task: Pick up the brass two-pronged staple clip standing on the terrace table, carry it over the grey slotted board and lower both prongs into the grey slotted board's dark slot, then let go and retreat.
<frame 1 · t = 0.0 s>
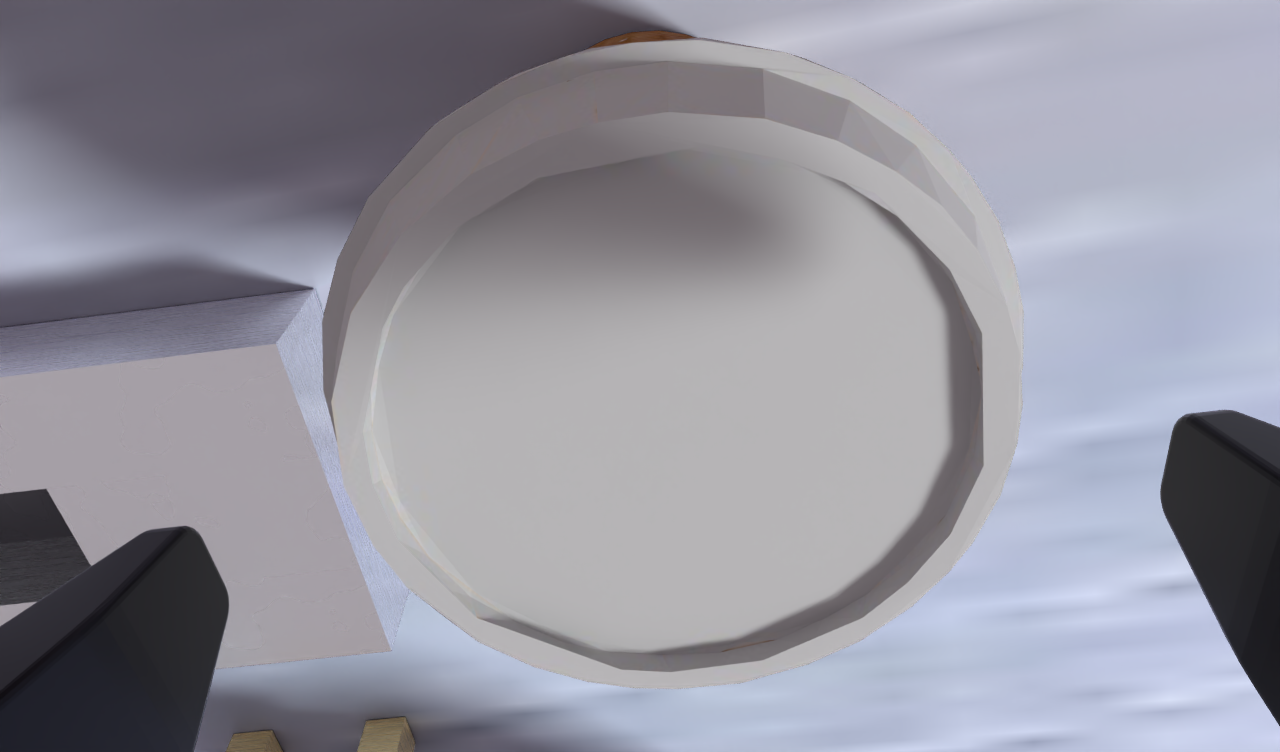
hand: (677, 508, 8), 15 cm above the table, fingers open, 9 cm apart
disposable coffee cup: (652, 165, 22), on the table
clip: (325, 738, 32), on the table
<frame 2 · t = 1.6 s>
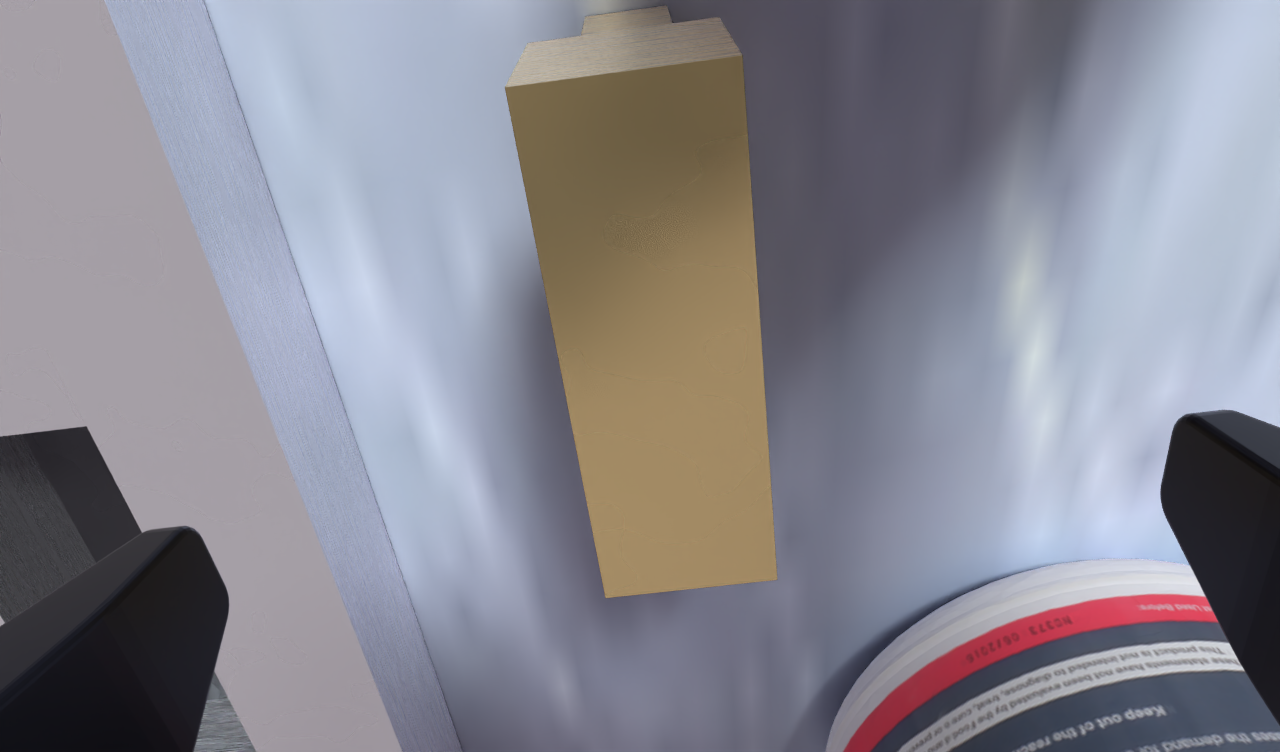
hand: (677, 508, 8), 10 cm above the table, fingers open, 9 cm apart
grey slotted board: (171, 543, 21), on the table
clip: (648, 186, 17), on the table
supplement tub: (1045, 705, 25), on the table
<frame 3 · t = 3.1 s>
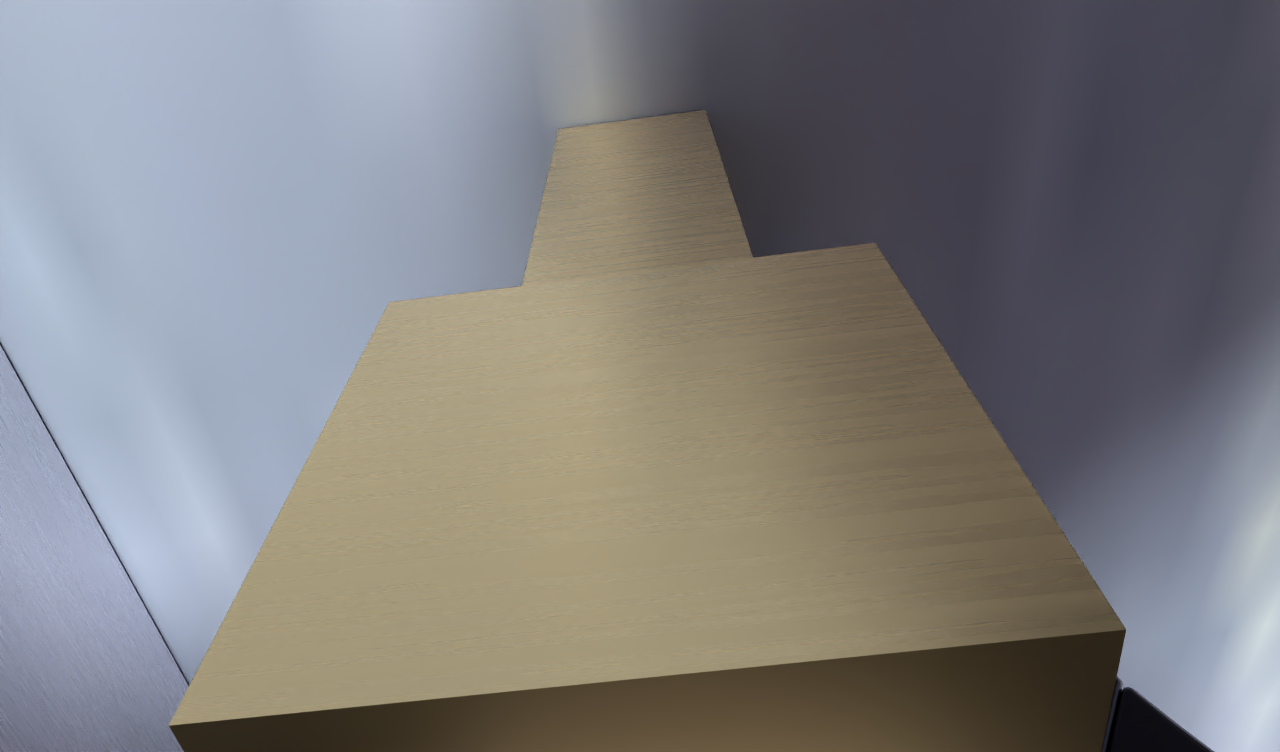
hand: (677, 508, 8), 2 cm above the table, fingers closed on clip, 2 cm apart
clip: (667, 396, 10), on the table, touching gripper
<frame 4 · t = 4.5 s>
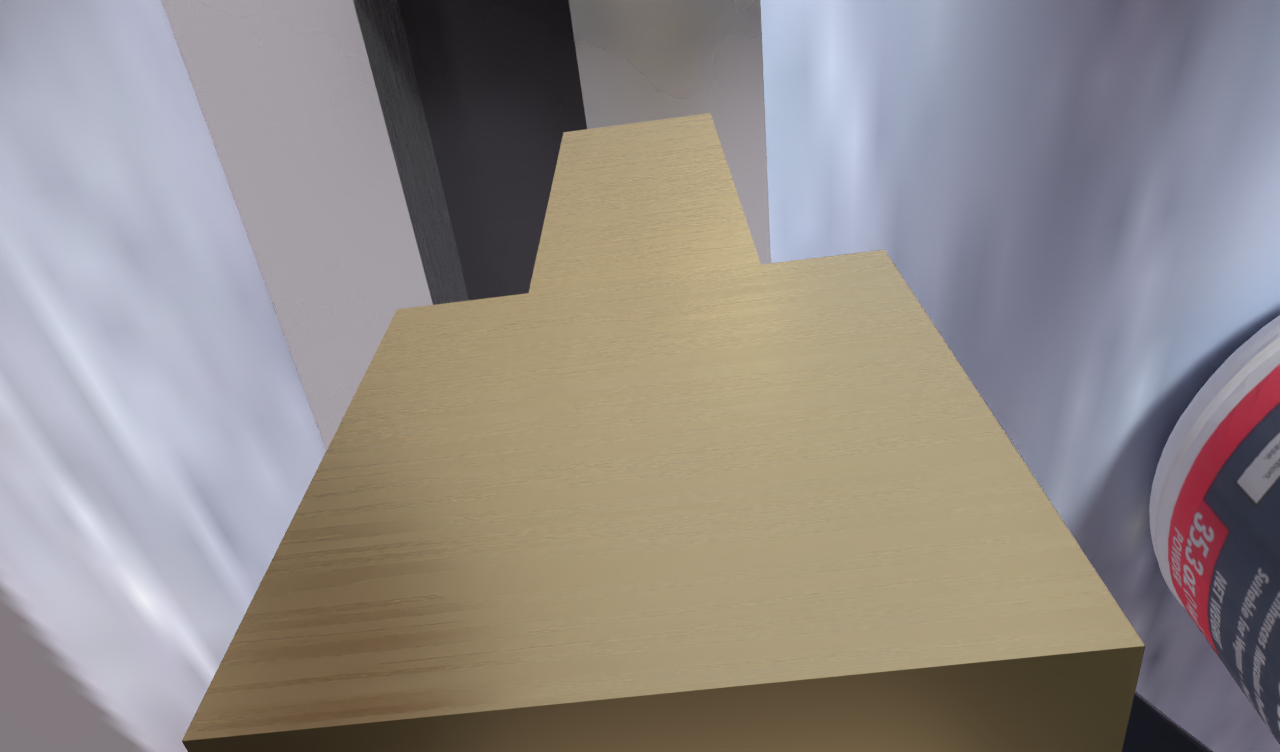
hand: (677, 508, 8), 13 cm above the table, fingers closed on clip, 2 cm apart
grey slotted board: (528, 197, 20), on the table
clip: (671, 399, 10), point 11 cm above the table, touching gripper
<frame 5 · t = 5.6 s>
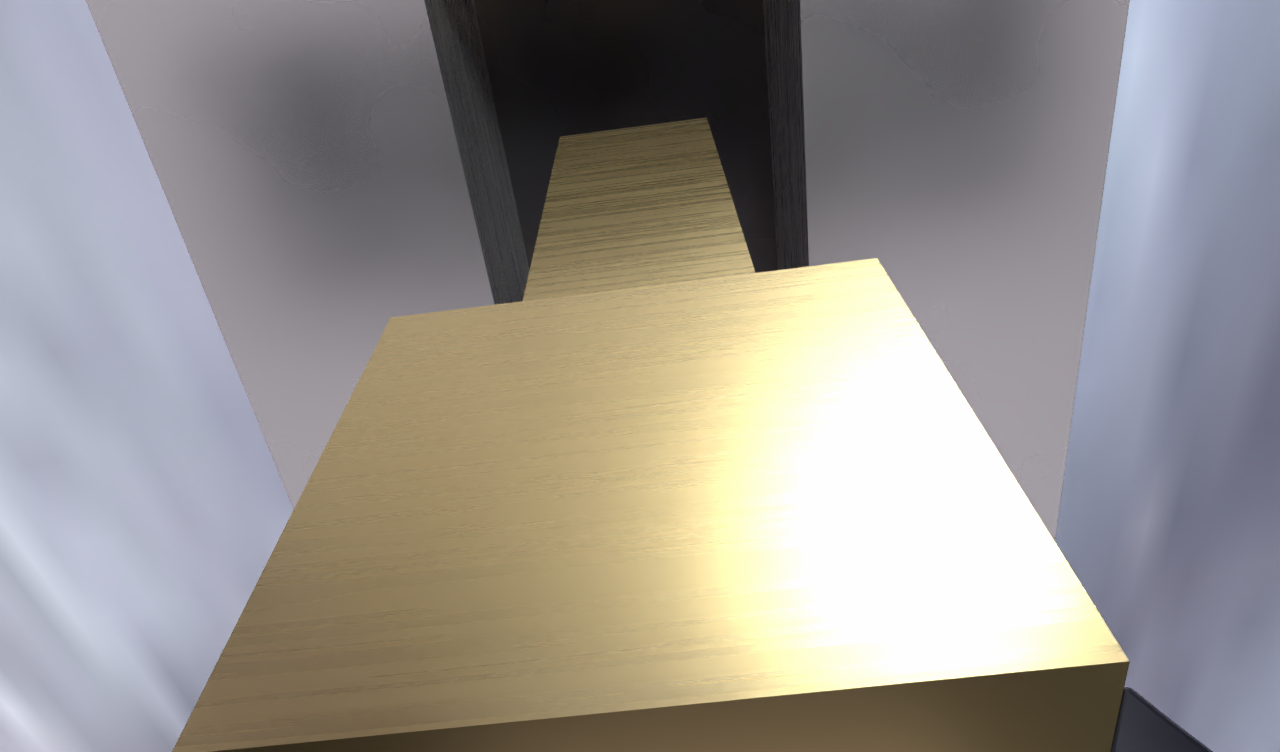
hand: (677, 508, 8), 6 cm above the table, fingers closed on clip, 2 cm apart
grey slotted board: (653, 265, 13), on the table
clip: (668, 402, 10), point 4 cm above the table, touching gripper
when the fingers open (3 cm above the table, at t = 6.2 s): clip drops 1 cm, resting on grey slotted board.
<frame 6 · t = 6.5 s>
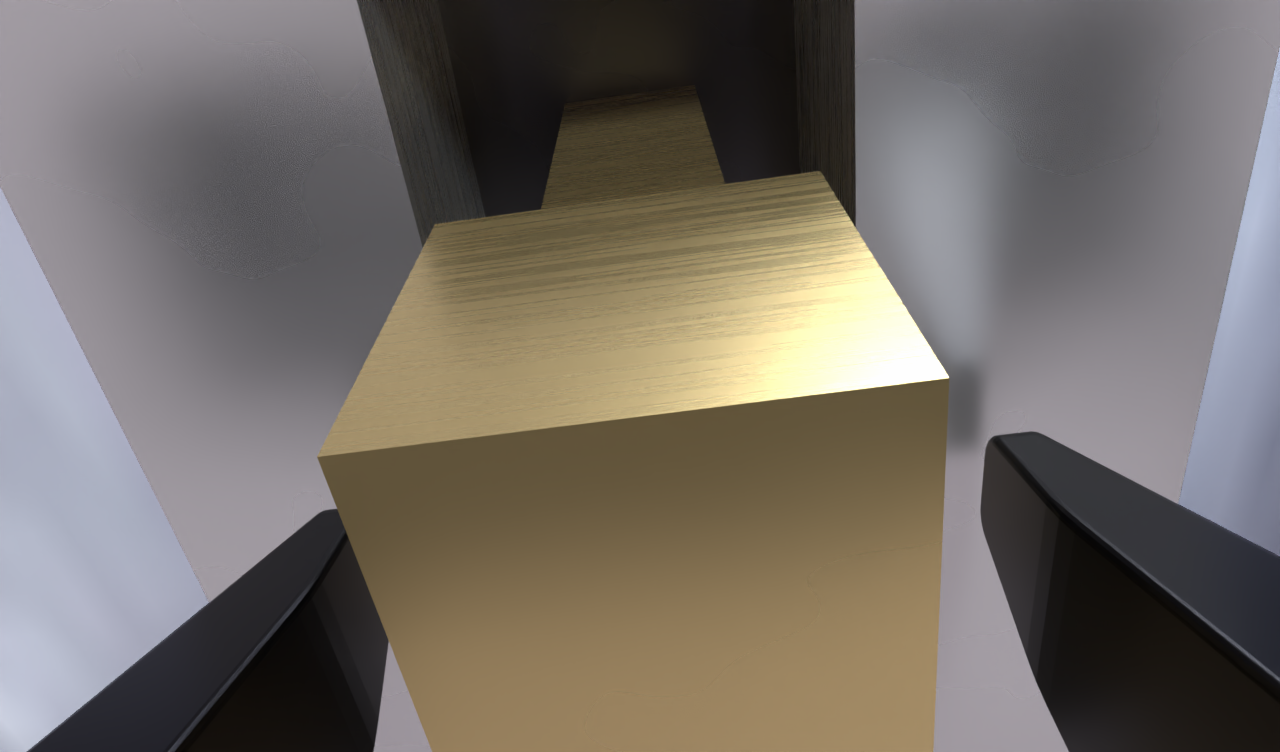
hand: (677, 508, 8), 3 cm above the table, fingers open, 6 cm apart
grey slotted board: (660, 335, 11), on the table
clip: (664, 346, 11), resting on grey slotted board
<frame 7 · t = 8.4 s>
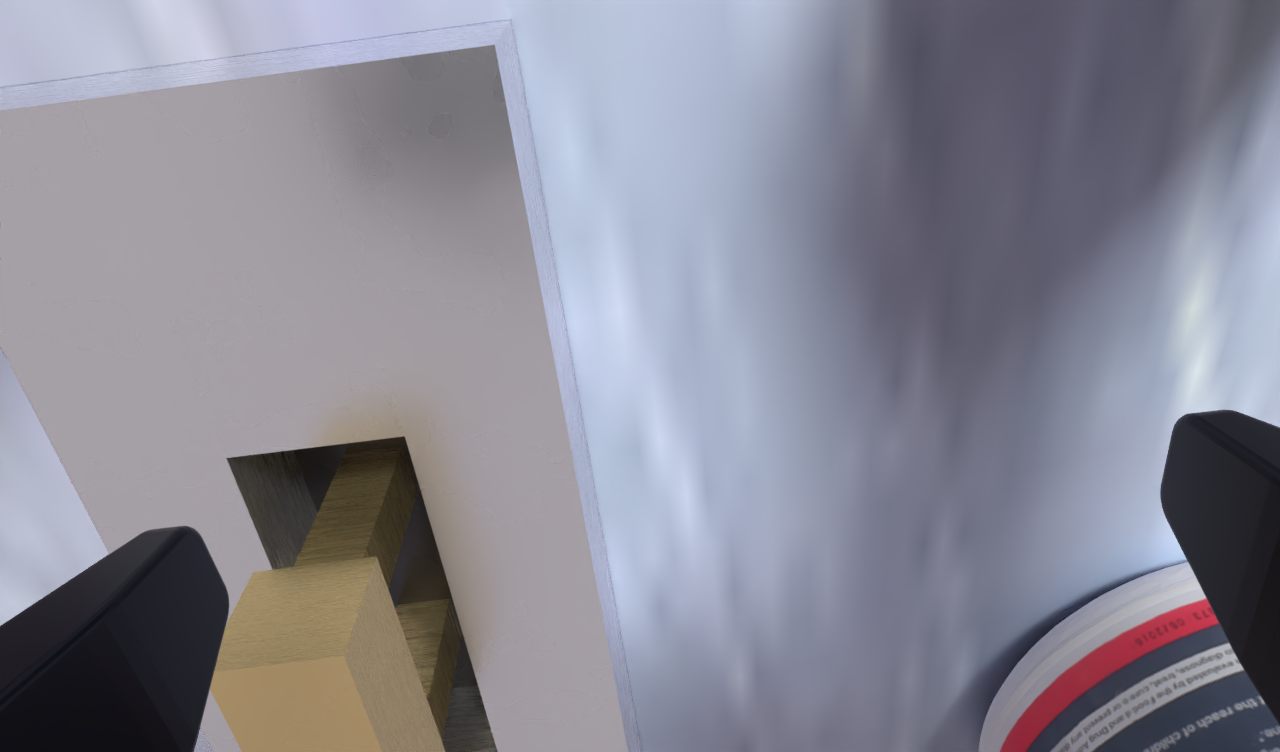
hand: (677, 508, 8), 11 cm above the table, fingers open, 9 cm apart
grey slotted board: (406, 545, 23), on the table
clip: (406, 551, 23), resting on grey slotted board
supplement tub: (1172, 691, 27), on the table
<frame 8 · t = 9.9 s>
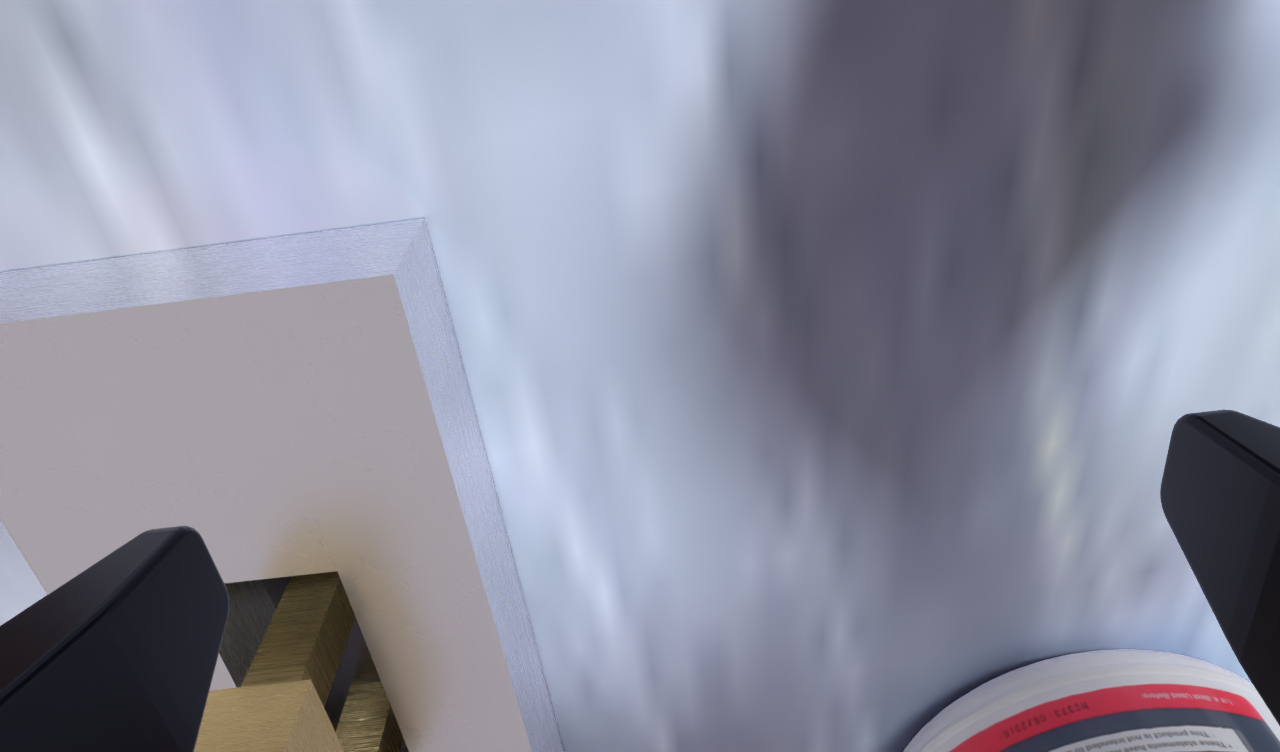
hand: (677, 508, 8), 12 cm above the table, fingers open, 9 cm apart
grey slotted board: (356, 635, 26), on the table
clip: (356, 642, 26), resting on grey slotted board
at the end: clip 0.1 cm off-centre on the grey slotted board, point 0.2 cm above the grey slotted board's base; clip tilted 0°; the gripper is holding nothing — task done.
